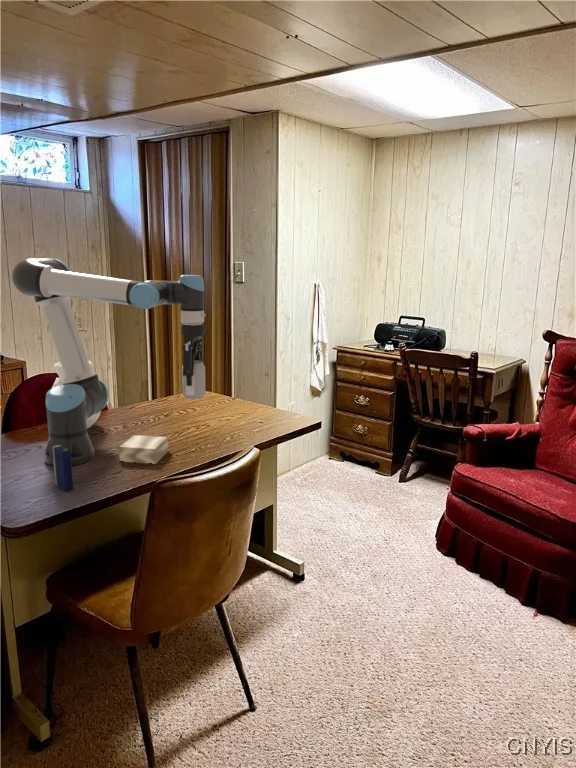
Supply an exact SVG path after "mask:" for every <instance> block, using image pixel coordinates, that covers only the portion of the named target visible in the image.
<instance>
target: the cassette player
mask: <svg viewBox="0 0 576 768" xmlns="http://www.w3.org/2000/svg"><path fill="white" fill-rule="evenodd" d="M53 464H54V466H53V475H54V484H56V486H57V485H58V486H59V487H60V488H59V487H58V486H57V487H58V488H59V489H60V490H62V489H63V490H64V491H63V490H62V491H63V492H65V491H68V492H70V491H69V490H72V491H74V482H73V471H72V466H71V454H70V451H69V450H67V449H66V448H64V447H63V446H61V445H56V446H53Z"/></svg>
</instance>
